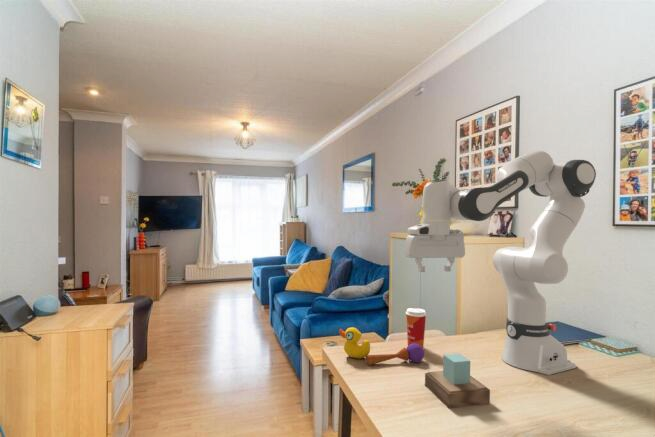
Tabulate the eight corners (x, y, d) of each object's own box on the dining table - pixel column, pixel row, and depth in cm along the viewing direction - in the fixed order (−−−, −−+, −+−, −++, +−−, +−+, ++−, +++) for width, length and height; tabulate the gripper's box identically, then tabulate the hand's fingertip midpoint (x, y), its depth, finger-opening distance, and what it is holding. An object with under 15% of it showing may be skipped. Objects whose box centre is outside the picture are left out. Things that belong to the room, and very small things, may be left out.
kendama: (363, 349, 114) (417, 340, 118) (365, 367, 113) (419, 358, 117) (369, 352, 108) (425, 343, 112) (371, 372, 107) (428, 362, 111)
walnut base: (461, 381, 100) (461, 368, 100) (489, 403, 88) (489, 388, 88) (425, 385, 97) (425, 371, 97) (448, 408, 85) (449, 392, 85)
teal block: (458, 374, 95) (459, 353, 95) (469, 382, 91) (470, 360, 91) (443, 376, 94) (443, 354, 94) (453, 384, 89) (453, 362, 89)
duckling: (335, 356, 116) (336, 327, 116) (342, 351, 121) (342, 323, 121) (366, 363, 111) (367, 333, 111) (372, 357, 116) (372, 328, 116)
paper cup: (404, 343, 130) (404, 307, 130) (424, 344, 129) (425, 308, 129) (405, 350, 122) (406, 312, 122) (427, 352, 121) (428, 313, 121)
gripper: (458, 229, 115) (457, 269, 115) (402, 228, 111) (402, 270, 111) (469, 230, 109) (468, 272, 109) (411, 229, 104) (410, 273, 104)
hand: (434, 271), depth 110 cm, fingers open, 8 cm apart
